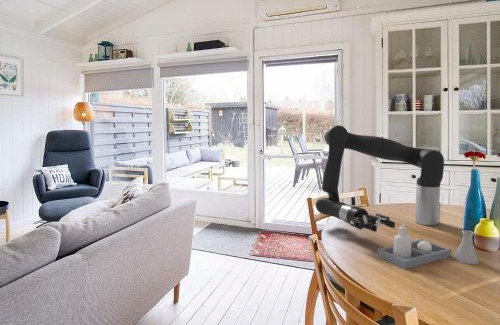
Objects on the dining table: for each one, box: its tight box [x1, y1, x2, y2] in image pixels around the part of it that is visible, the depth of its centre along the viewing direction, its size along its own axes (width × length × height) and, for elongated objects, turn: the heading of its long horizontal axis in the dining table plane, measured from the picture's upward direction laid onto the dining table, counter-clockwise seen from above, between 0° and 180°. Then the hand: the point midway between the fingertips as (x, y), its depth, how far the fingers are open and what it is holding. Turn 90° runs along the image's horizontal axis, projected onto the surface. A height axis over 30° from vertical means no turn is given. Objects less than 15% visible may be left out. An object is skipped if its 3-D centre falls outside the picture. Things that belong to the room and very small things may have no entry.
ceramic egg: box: [417, 240, 432, 254], centre depth 106 cm, size 4×4×4 cm
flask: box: [453, 229, 480, 265], centre depth 101 cm, size 7×7×10 cm
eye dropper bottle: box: [392, 223, 412, 260], centre depth 102 cm, size 4×6×12 cm
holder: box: [377, 238, 452, 270], centre depth 105 cm, size 21×11×3 cm, turn 112°
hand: (385, 227), depth 109 cm, fingers open, 8 cm apart
